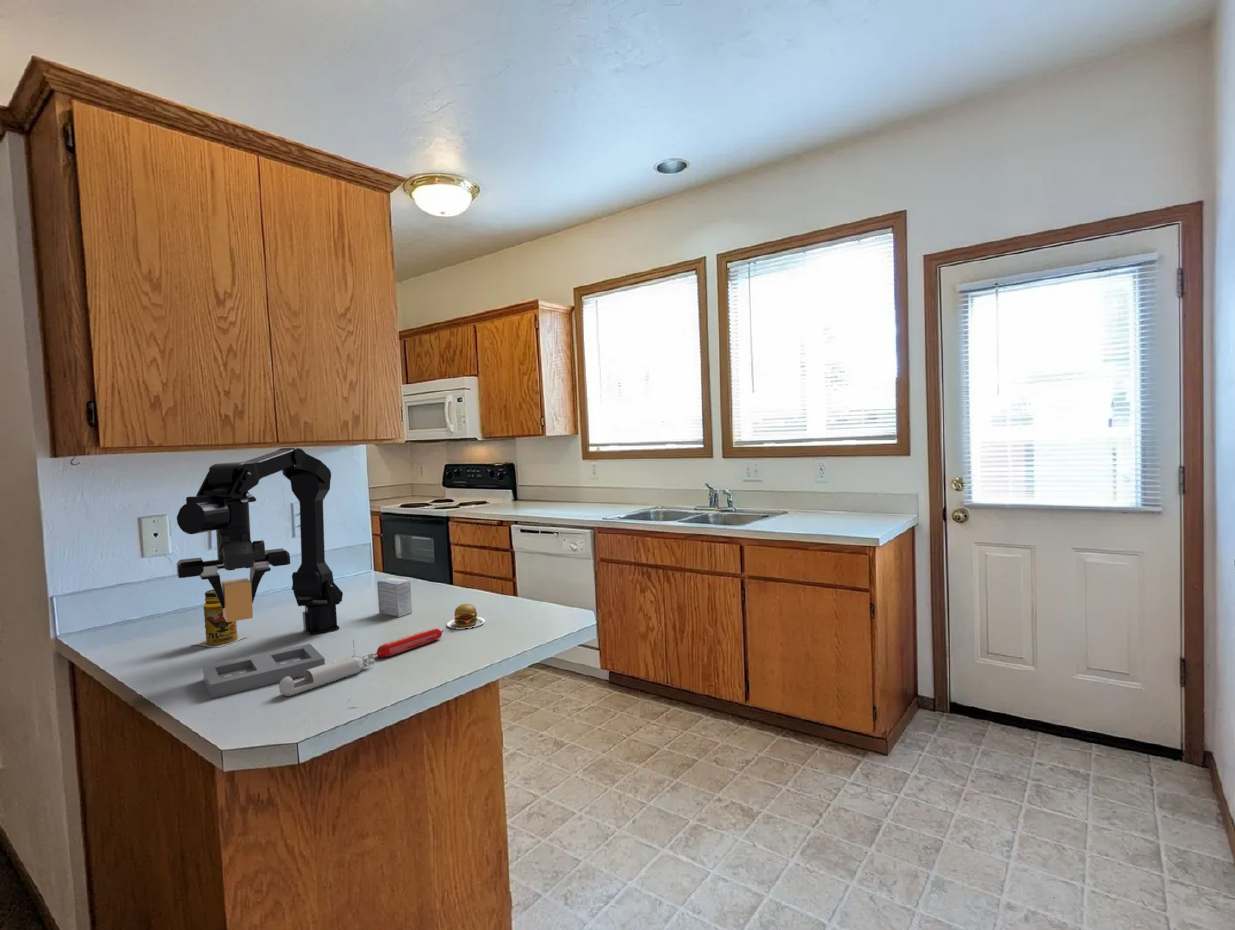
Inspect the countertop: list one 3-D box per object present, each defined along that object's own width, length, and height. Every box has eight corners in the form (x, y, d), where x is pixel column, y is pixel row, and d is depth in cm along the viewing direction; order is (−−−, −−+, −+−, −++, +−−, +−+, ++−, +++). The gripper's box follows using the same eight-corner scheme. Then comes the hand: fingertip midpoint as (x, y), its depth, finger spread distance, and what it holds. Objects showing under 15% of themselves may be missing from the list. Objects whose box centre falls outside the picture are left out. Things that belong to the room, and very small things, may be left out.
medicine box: (412, 613, 164) (411, 579, 164) (398, 617, 161) (396, 583, 160) (392, 609, 169) (391, 577, 168) (378, 613, 165) (376, 580, 164)
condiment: (219, 647, 142) (215, 594, 141) (191, 645, 145) (187, 593, 144) (247, 637, 149) (244, 586, 148) (219, 635, 152) (216, 585, 151)
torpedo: (287, 702, 111) (285, 665, 111) (274, 696, 114) (272, 660, 114) (380, 669, 126) (378, 636, 125) (367, 664, 128) (365, 632, 128)
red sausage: (435, 637, 145) (434, 624, 145) (446, 639, 143) (445, 626, 142) (371, 659, 132) (371, 644, 132) (382, 662, 130) (381, 647, 130)
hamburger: (474, 616, 162) (473, 595, 161) (501, 625, 153) (500, 602, 153) (430, 628, 153) (429, 605, 153) (457, 638, 145) (455, 614, 144)
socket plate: (310, 655, 135) (309, 643, 135) (325, 670, 125) (324, 658, 125) (203, 679, 123) (202, 666, 123) (211, 698, 114) (210, 684, 113)
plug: (246, 609, 132) (244, 575, 132) (252, 617, 125) (251, 582, 125) (221, 613, 130) (219, 579, 129) (226, 622, 122) (224, 586, 122)
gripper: (178, 536, 113) (182, 623, 114) (293, 525, 125) (297, 604, 125) (174, 530, 122) (179, 611, 123) (283, 521, 134) (286, 595, 134)
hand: (237, 605), depth 126 cm, fingers closed on plug, 4 cm apart
